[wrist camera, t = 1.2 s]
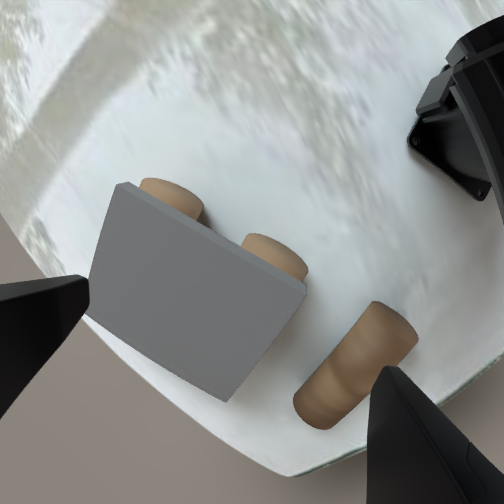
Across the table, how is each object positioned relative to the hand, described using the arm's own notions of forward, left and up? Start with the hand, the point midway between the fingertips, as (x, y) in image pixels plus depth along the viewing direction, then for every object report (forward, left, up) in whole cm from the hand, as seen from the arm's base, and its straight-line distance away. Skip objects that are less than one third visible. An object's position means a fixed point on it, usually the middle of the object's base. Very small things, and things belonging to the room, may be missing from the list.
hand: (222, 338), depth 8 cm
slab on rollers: (+3, +5, -12) cm, 13 cm away
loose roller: (-9, +5, -10) cm, 15 cm away
